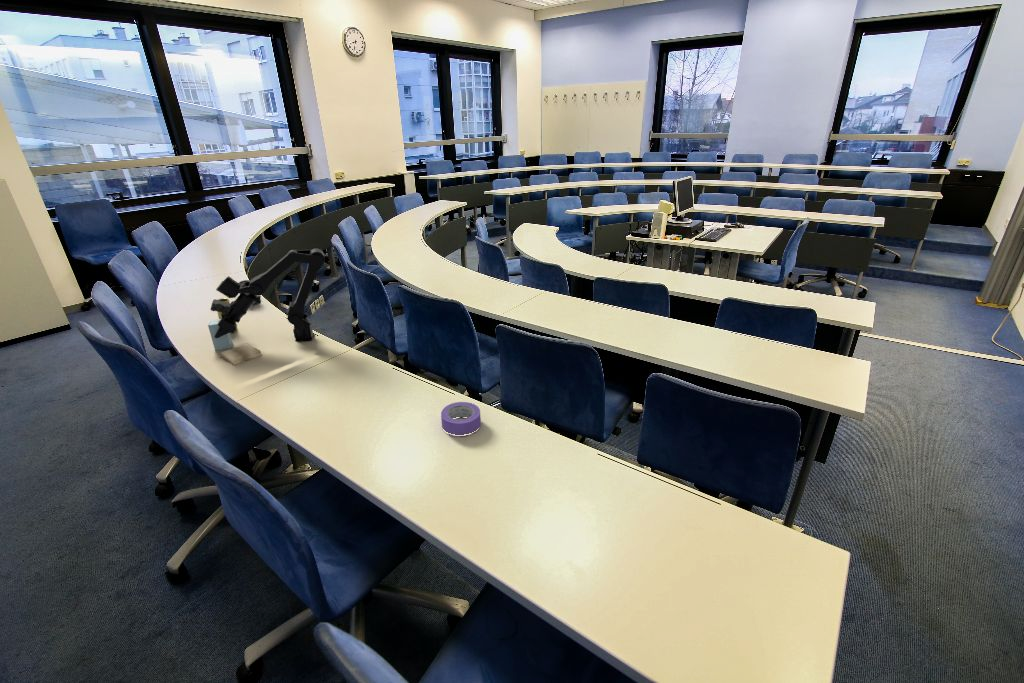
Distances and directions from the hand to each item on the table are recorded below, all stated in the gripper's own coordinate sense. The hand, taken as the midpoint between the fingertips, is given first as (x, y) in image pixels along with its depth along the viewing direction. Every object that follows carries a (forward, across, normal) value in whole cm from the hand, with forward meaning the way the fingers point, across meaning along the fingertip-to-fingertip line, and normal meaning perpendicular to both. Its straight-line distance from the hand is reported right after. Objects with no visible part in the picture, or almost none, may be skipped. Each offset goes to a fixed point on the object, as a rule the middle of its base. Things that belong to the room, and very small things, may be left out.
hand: (216, 334), depth 184 cm
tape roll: (-47, +85, +57) cm, 113 cm away
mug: (0, -56, +9) cm, 57 cm away
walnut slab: (-1, +12, +11) cm, 17 cm away
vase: (+4, -20, +6) cm, 21 cm away
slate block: (+4, 0, +6) cm, 7 cm away
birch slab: (-2, +12, +10) cm, 16 cm away
